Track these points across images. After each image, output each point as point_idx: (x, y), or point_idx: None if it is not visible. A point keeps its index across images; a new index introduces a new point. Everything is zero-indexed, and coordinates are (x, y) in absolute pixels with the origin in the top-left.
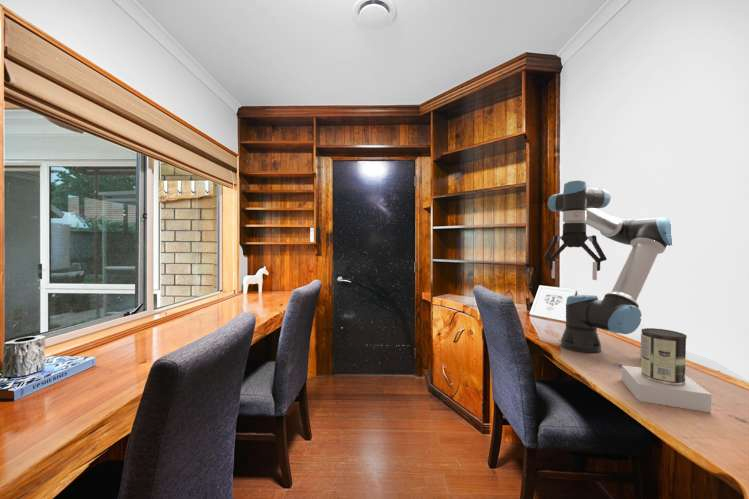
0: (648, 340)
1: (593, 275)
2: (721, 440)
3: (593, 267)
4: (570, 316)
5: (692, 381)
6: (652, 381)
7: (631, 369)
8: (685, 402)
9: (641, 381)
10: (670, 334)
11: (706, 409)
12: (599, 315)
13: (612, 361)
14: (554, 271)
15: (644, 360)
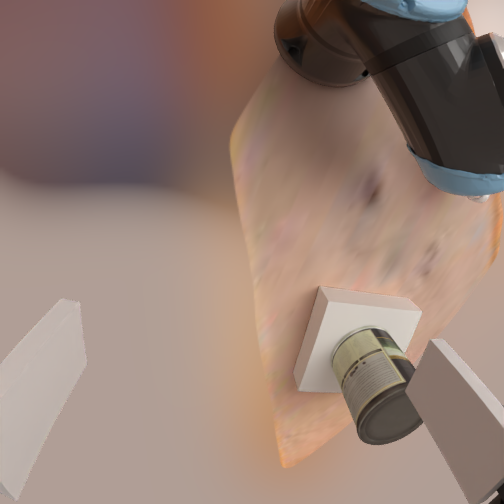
0: (354, 421)
1: (433, 391)
2: (325, 431)
3: (474, 438)
4: (317, 8)
5: (403, 350)
6: (332, 374)
7: (333, 323)
8: None
9: (310, 379)
10: (401, 424)
11: None
12: (407, 117)
13: (366, 153)
14: (57, 411)
15: (340, 380)
